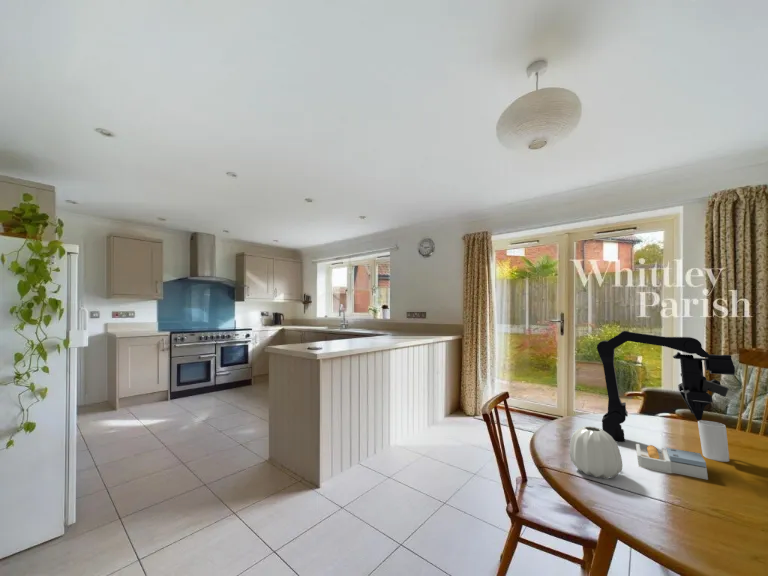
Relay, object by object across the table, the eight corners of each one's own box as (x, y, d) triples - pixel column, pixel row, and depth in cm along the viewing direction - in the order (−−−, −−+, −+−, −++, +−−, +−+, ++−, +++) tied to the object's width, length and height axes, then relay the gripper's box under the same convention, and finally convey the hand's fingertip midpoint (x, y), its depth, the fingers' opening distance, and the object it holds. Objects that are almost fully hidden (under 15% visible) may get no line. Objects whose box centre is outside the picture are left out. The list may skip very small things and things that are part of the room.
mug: (729, 466, 102) (724, 428, 103) (700, 459, 107) (695, 423, 108) (733, 457, 108) (728, 422, 109) (705, 451, 113) (701, 417, 114)
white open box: (639, 469, 101) (637, 456, 101) (636, 450, 115) (635, 439, 115) (709, 483, 91) (707, 469, 92) (696, 461, 105) (695, 449, 106)
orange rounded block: (649, 460, 105) (648, 451, 106) (647, 452, 111) (646, 444, 112) (660, 462, 104) (659, 453, 104) (657, 454, 110) (656, 446, 110)
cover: (670, 460, 97) (669, 455, 97) (667, 451, 104) (666, 447, 104) (706, 467, 92) (705, 461, 93) (700, 457, 99) (700, 452, 99)
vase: (606, 487, 90) (602, 439, 92) (561, 467, 103) (558, 425, 104) (633, 477, 96) (629, 431, 97) (587, 459, 108) (584, 419, 110)
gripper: (732, 378, 100) (737, 428, 99) (717, 370, 115) (721, 414, 114) (684, 374, 107) (689, 421, 105) (676, 368, 122) (680, 409, 120)
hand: (696, 416), depth 111 cm, fingers open, 9 cm apart
